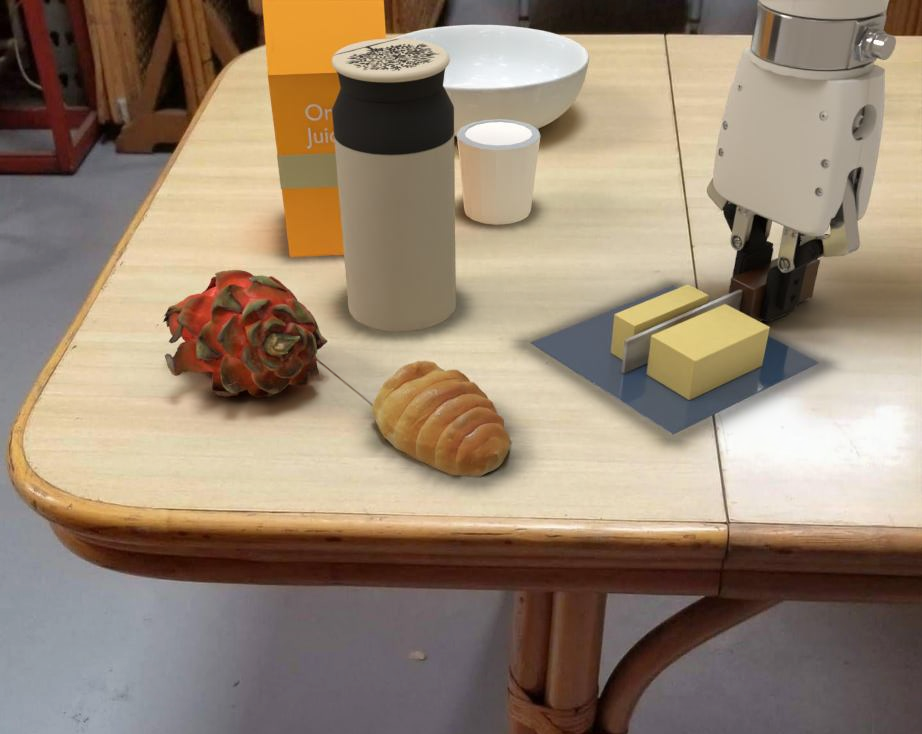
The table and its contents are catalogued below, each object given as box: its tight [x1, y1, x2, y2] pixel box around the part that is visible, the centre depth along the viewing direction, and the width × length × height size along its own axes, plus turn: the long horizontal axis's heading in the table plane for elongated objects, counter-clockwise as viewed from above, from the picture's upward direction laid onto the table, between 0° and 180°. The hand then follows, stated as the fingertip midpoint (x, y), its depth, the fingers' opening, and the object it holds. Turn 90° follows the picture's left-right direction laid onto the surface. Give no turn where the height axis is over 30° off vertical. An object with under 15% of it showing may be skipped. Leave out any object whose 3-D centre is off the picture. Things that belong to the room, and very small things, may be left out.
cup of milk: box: [456, 119, 541, 226], centre depth 90 cm, size 7×7×7 cm
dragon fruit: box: [156, 269, 328, 398], centre depth 70 cm, size 8×8×12 cm
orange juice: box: [261, 0, 387, 258], centre depth 82 cm, size 8×9×20 cm
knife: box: [621, 257, 821, 374], centre depth 75 cm, size 18×2×3 cm, turn 127°
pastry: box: [371, 360, 512, 478], centre depth 66 cm, size 9×7×4 cm
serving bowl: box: [393, 24, 590, 137], centre depth 106 cm, size 21×21×7 cm
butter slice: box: [611, 284, 710, 360], centre depth 74 cm, size 7×2×3 cm, turn 127°
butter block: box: [647, 304, 771, 400], centre depth 71 cm, size 7×4×3 cm, turn 127°
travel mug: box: [332, 38, 457, 332], centre depth 74 cm, size 8×8×18 cm
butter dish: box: [529, 284, 820, 436], centre depth 74 cm, size 14×14×1 cm
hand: (761, 305), depth 77 cm, fingers closed on knife, 2 cm apart
